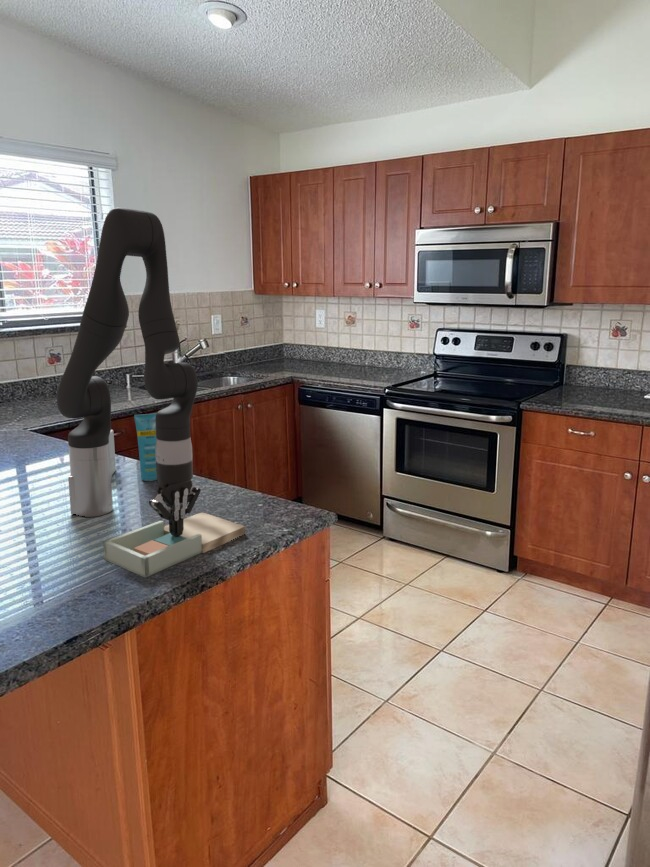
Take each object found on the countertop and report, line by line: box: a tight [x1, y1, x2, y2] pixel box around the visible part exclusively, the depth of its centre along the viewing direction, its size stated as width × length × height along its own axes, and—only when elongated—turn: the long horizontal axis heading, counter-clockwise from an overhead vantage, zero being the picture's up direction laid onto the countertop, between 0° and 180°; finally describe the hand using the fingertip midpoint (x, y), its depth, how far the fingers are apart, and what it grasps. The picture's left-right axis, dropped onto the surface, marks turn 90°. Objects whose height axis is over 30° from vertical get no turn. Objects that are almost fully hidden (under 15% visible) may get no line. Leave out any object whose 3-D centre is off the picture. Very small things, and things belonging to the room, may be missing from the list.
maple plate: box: [164, 512, 246, 554], centre depth 146 cm, size 13×14×2 cm
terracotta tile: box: [134, 540, 168, 556], centre depth 134 cm, size 5×5×2 cm
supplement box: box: [109, 429, 117, 477], centre depth 186 cm, size 7×7×13 cm
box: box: [102, 520, 203, 578], centre depth 135 cm, size 15×13×4 cm
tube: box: [133, 412, 158, 482], centre depth 182 cm, size 7×5×19 cm, turn 123°
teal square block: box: [154, 533, 187, 546], centre depth 138 cm, size 5×5×2 cm
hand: (176, 534), depth 139 cm, fingers closed
